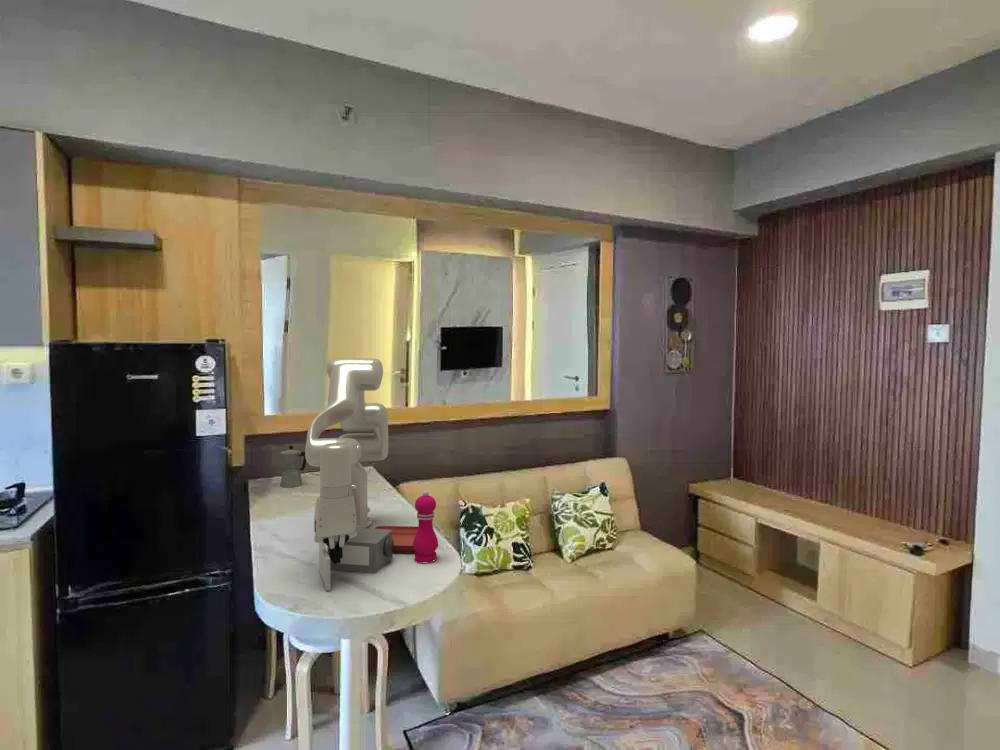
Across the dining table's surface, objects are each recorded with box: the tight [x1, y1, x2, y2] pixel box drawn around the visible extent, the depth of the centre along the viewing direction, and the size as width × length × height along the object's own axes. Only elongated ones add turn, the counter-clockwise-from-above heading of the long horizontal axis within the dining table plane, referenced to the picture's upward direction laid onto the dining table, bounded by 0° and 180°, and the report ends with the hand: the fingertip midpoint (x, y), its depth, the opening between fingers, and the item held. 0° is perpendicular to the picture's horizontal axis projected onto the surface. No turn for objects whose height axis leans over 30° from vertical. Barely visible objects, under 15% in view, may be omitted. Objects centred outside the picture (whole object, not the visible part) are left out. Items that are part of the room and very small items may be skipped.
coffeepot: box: [278, 445, 307, 489], centre depth 247 cm, size 15×9×18 cm, turn 70°
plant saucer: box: [374, 525, 418, 553], centre depth 171 cm, size 18×18×3 cm
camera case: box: [327, 527, 394, 574], centre depth 155 cm, size 12×15×9 cm
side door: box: [318, 543, 332, 591], centre depth 144 cm, size 2×15×8 cm, turn 25°
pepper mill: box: [413, 490, 439, 564], centre depth 158 cm, size 7×7×20 cm
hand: (336, 561), depth 143 cm, fingers closed
